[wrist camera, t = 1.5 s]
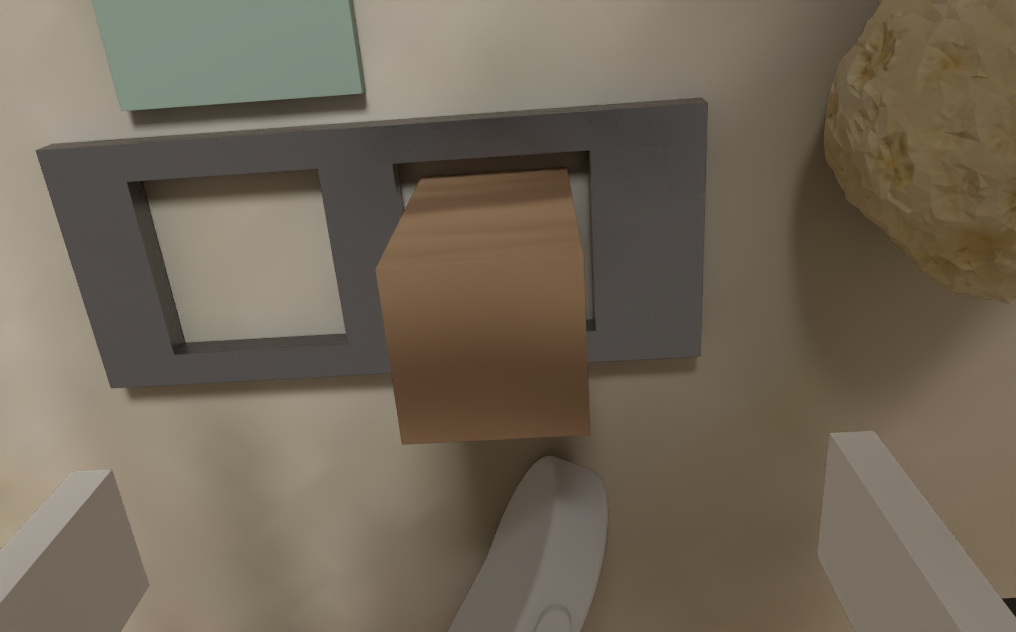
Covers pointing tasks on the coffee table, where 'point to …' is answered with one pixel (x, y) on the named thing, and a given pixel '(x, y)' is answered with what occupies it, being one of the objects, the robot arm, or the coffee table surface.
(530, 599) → the game controller
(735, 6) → the coffee table surface
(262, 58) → the felt pad
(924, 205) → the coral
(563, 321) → the walnut block
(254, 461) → the coffee table surface
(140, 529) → the coffee table surface
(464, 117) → the grey slotted board
